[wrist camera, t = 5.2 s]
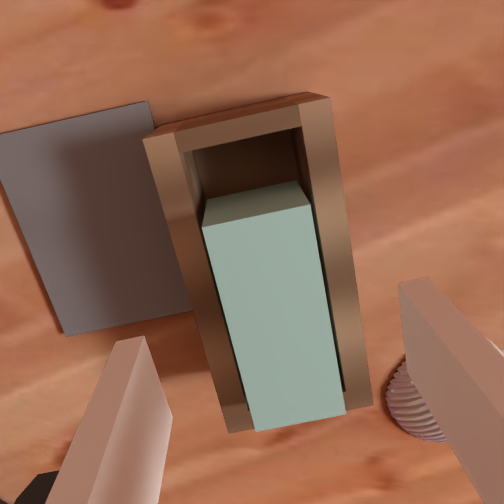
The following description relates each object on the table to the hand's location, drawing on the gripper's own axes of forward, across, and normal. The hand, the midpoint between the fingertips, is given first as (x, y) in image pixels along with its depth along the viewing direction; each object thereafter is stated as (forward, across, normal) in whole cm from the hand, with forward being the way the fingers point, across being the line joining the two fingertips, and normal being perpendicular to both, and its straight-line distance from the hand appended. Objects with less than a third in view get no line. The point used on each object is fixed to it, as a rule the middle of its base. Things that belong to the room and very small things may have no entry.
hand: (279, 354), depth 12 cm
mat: (+19, -10, 0) cm, 21 cm away
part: (+15, 0, -5) cm, 16 cm away
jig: (+19, 0, -4) cm, 20 cm away
